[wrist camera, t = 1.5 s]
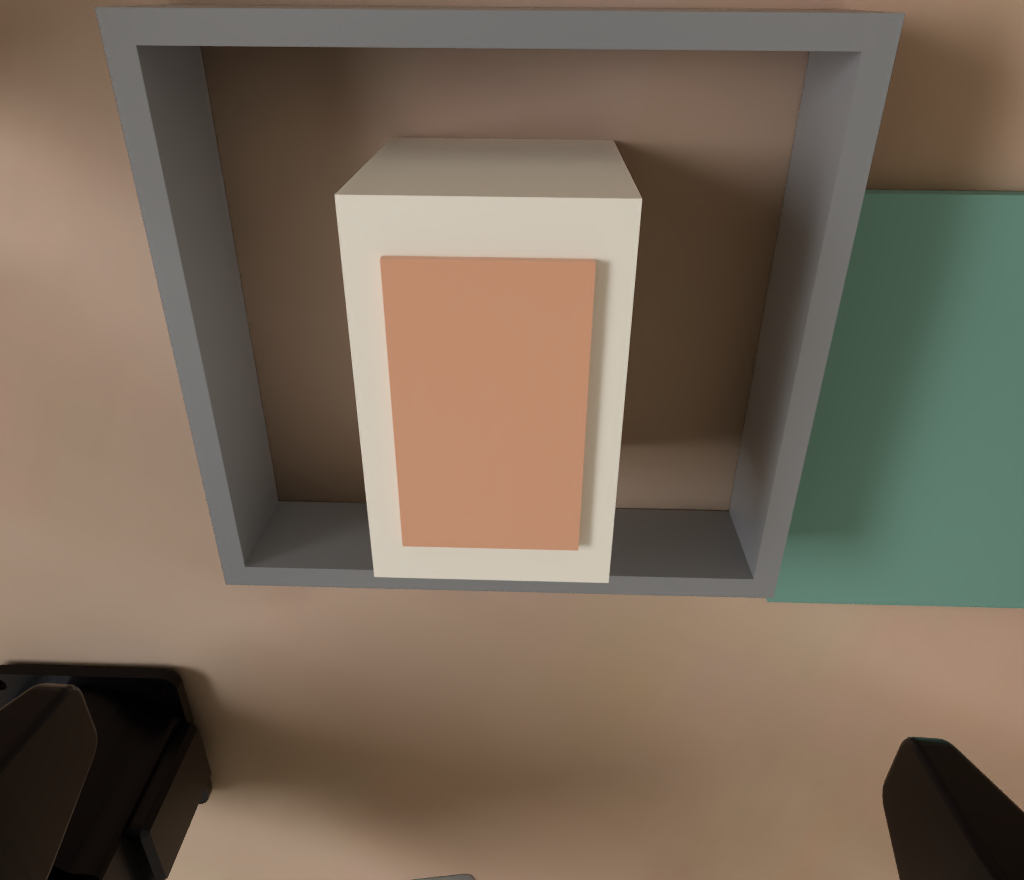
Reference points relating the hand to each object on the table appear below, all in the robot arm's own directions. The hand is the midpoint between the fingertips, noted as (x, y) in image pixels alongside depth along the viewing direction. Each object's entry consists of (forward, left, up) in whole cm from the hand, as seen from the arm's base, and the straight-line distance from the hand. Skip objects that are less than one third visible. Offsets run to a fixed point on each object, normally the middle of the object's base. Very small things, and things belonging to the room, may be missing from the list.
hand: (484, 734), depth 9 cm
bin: (0, 0, -13) cm, 13 cm away
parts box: (0, 0, -13) cm, 13 cm away
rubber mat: (+13, -3, -13) cm, 18 cm away
